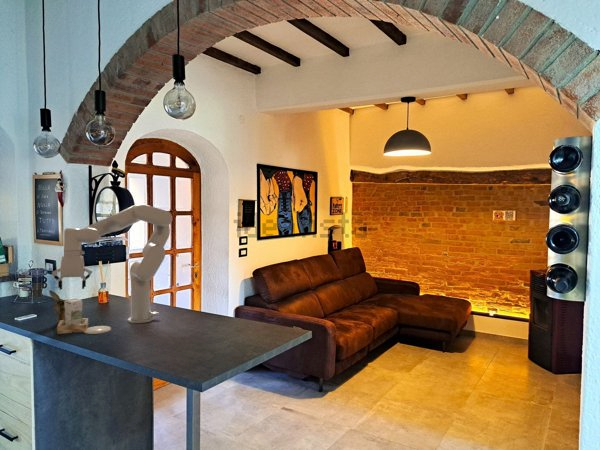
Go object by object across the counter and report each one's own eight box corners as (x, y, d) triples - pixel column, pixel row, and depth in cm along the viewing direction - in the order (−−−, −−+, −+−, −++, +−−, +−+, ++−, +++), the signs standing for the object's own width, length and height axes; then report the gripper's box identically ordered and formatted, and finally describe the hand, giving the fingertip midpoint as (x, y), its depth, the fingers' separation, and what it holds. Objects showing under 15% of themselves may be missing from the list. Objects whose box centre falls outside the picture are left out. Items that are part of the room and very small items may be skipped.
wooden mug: (44, 324, 219) (44, 289, 219) (70, 319, 231) (70, 285, 230) (54, 327, 215) (54, 291, 214) (80, 321, 226) (80, 287, 226)
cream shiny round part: (111, 326, 219) (111, 324, 218) (110, 332, 207) (110, 331, 207) (84, 328, 214) (84, 327, 214) (82, 335, 203) (82, 333, 203)
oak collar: (88, 324, 220) (88, 318, 220) (86, 331, 209) (86, 324, 209) (60, 327, 215) (60, 320, 215) (57, 333, 204) (57, 326, 204)
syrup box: (75, 327, 216) (75, 298, 215) (82, 328, 213) (82, 299, 212) (64, 329, 211) (63, 300, 211) (71, 331, 208) (71, 301, 208)
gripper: (92, 252, 217) (92, 286, 218) (53, 252, 211) (52, 288, 211) (91, 254, 210) (91, 289, 211) (51, 254, 204) (50, 290, 204)
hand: (72, 288), depth 211 cm, fingers open, 9 cm apart
